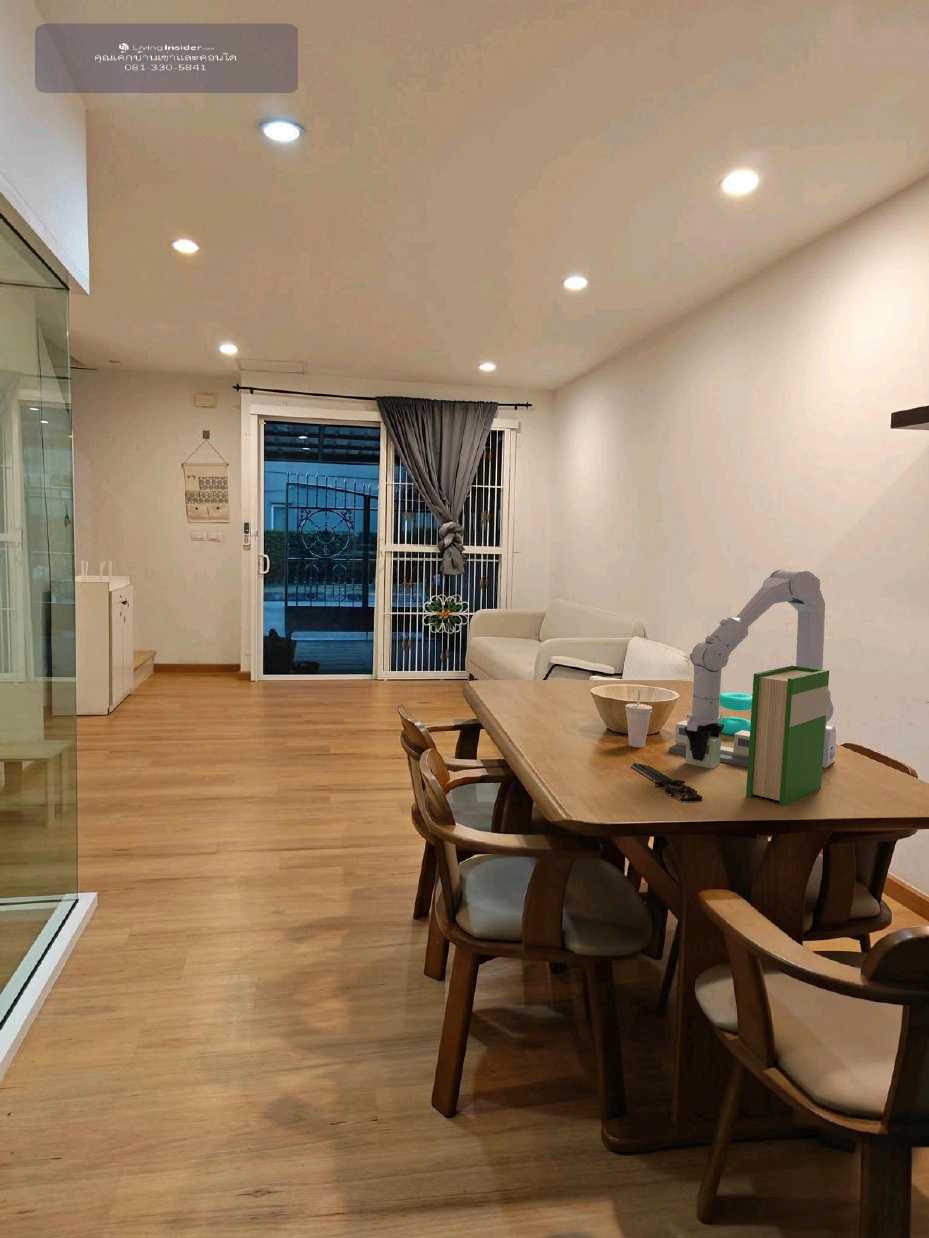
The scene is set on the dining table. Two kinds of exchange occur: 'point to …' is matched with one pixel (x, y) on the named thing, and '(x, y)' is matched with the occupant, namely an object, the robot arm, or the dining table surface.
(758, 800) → the dining table surface
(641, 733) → the smoothie
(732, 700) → the donuts
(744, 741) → the plate
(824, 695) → the hardback book
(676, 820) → the dining table surface
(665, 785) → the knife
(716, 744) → the block
